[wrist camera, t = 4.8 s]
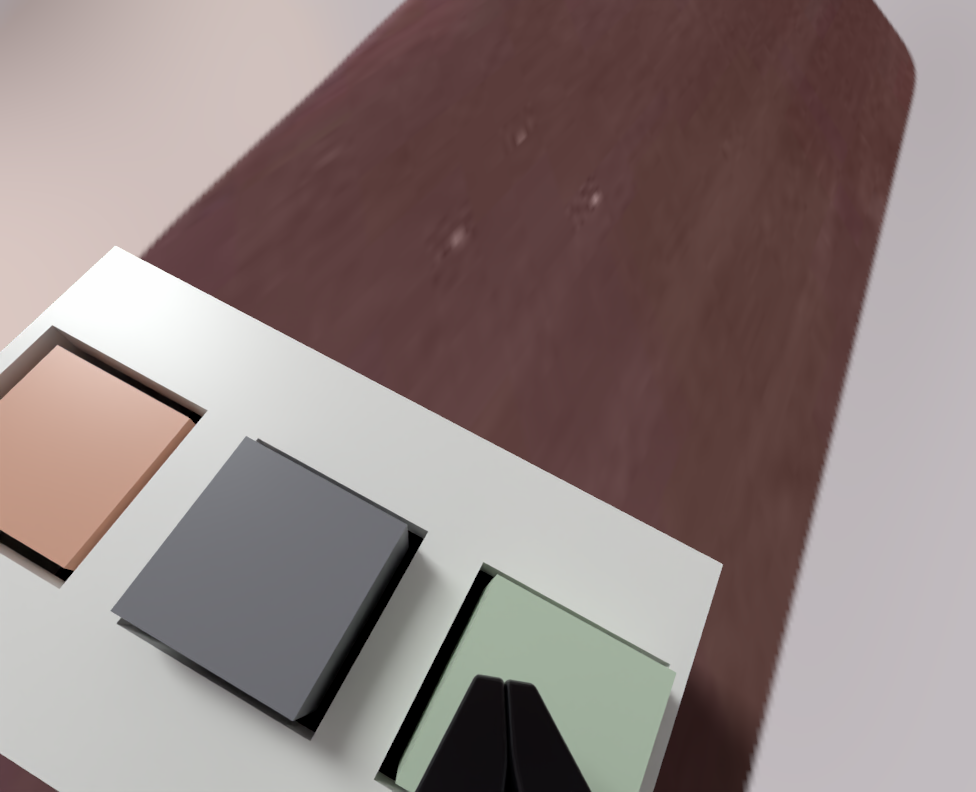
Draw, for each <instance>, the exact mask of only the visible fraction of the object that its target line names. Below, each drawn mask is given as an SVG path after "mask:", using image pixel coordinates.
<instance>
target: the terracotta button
mask: <svg viewBox="0 0 976 792" xmlns="http://www.w3.org/2000/svg"><path fill="white" fill-rule="evenodd" d="M195 425H196V424H195V423H194V422H193V421H192V420H191V419H190V418H188V417H187V416H185V415H183V414H181V413H179V412H178V411H176V410H174V409H172V408H170V407H169V406H167V405H165V404H163V403H161V402H160V401H158V400H156V399H154V398H152V397H150V396H149V395H147V394H145V393H143V392H141V391H140V390H138V389H136V388H134V387H132V386H131V385H129V384H127V383H125V382H123V381H122V380H120V379H118V378H116V377H114V376H113V375H111V374H109V373H107V372H105V371H103V370H102V369H100V368H98V367H96V366H94V365H93V364H91V363H89V362H87V361H85V360H84V359H82V358H80V357H78V356H76V355H75V354H73V353H71V352H69V351H67V350H65V349H64V348H62V347H60V346H58V345H57V346H56V347H55V348H54V349H53V350H52V351H51V352H49V353H48V354H47V355H46V356H45V357H44V358H43V359H42V360H41V361H40V362H39V363H38V364H37V365H36V366H35V367H34V368H33V369H32V370H31V371H30V372H29V373H28V374H27V375H26V376H25V377H24V378H23V379H22V380H21V381H20V382H19V383H17V384H16V385H15V386H14V387H13V388H12V389H11V390H10V391H9V392H8V393H7V394H6V395H5V396H4V397H3V398H2V399H1V400H0V530H1V531H3V532H5V533H6V534H8V535H10V536H11V537H13V538H15V539H16V540H18V541H20V542H21V543H23V544H25V545H26V546H28V547H30V548H31V549H33V550H35V551H36V552H38V553H40V554H41V555H43V556H45V557H46V558H48V559H50V560H51V561H53V562H55V563H56V564H58V565H60V566H61V567H63V568H65V569H69V570H73V571H75V570H76V569H77V567H78V566H79V565H80V564H81V563H82V561H83V560H84V559H85V558H86V556H87V555H88V554H89V553H90V552H91V550H92V549H93V548H94V547H95V546H96V544H97V543H98V542H99V541H100V540H101V538H102V537H103V536H104V535H105V534H106V532H107V531H108V530H109V529H110V528H111V526H112V525H113V524H114V523H115V522H116V520H117V519H118V518H119V517H120V516H121V514H122V513H123V512H124V511H125V510H126V508H127V507H128V506H129V505H130V503H131V502H132V501H133V500H134V499H135V497H136V496H137V495H138V494H139V493H140V491H141V490H142V489H143V488H144V487H145V485H146V484H147V483H148V482H149V481H150V479H151V478H152V477H153V476H154V475H155V473H156V472H157V471H158V470H159V469H160V467H161V466H162V465H163V464H164V463H165V461H166V460H167V459H168V458H169V457H170V455H171V454H172V453H173V452H174V450H175V449H176V448H177V447H178V446H179V444H180V443H181V442H182V441H183V440H184V438H185V437H186V436H187V435H188V434H189V432H190V431H191V430H192V429H193V428H194V426H195Z"/></svg>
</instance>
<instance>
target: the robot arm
mask: <svg viewBox="0 0 976 792" xmlns="http://www.w3.org/2000/svg"><path fill="white" fill-rule="evenodd" d="M415 792H591V790H590V788H589V786H588V784H587V782H586V780H585V778H584V777H583V775H582V773H581V771H580V769H579V767H578V765H577V763H576V761H575V759H574V758H573V756H572V754H571V752H570V750H569V748H568V746H567V744H566V742H565V741H564V739H563V737H562V735H561V733H560V731H559V729H558V727H557V725H556V724H555V722H554V720H553V718H552V716H551V714H550V712H549V710H548V708H547V707H546V705H545V703H544V701H543V699H542V697H541V695H540V693H539V691H538V690H537V688H536V686H535V685H534V684H532V683H529V682H523V681H517V680H511V679H509V680H507V681H505V683H504V681H503V679H502V678H499V677H493V676H488V675H482V674H477V675H476V676H475V677H474V678H473V680H472V682H471V684H470V686H469V688H468V689H467V691H466V693H465V695H464V697H463V699H462V701H461V703H460V705H459V707H458V709H457V711H456V713H455V715H454V717H453V719H452V721H451V723H450V724H449V726H448V728H447V730H446V732H445V734H444V736H443V738H442V740H441V742H440V744H439V746H438V748H437V750H436V752H435V754H434V756H433V758H432V759H431V761H430V763H429V765H428V767H427V769H426V771H425V773H424V775H423V777H422V779H421V781H420V783H419V785H418V787H417V789H416V791H415Z"/></svg>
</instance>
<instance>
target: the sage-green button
mask: <svg viewBox="0 0 976 792" xmlns="http://www.w3.org/2000/svg"><path fill="white" fill-rule="evenodd" d="M477 674H482V675H488V676H493V677H499V678H502V679H503V681H504V683H505V681H507V680H509V679H511V680H517V681H523V682H529V683H532V684H534V685H535V686H536V688H537V690H538V691H539V693H540V695H541V697H542V699H543V701H544V703H545V705H546V707H547V708H548V710H549V712H550V714H551V716H552V718H553V720H554V722H555V724H556V725H557V727H558V729H559V731H560V733H561V735H562V737H563V739H564V741H565V742H566V744H567V746H568V748H569V750H570V752H571V754H572V756H573V758H574V759H575V761H576V763H577V765H578V767H579V769H580V771H581V773H582V775H583V777H584V778H585V780H586V782H587V784H588V786H589V788H590V790H591V792H639V789H640V786H641V783H642V780H643V777H644V774H645V771H646V767H647V764H648V761H649V758H650V755H651V752H652V748H653V745H654V742H655V739H656V736H657V733H658V730H659V726H660V723H661V720H662V717H663V714H664V711H665V708H666V704H667V701H668V698H669V695H670V692H671V689H672V685H673V682H674V679H675V676H676V672H674V671H673V670H671V669H669V668H667V667H665V666H663V665H662V664H660V663H658V662H656V661H654V660H653V659H651V658H649V657H647V656H645V655H643V654H642V653H640V652H638V651H636V650H634V649H633V648H631V647H629V646H627V645H625V644H623V643H622V642H620V641H618V640H616V639H614V638H613V637H611V636H609V635H607V634H605V633H603V632H602V631H600V630H598V629H596V628H594V627H593V626H591V625H589V624H587V623H585V622H583V621H582V620H580V619H578V618H576V617H574V616H573V615H571V614H569V613H567V612H565V611H563V610H562V609H560V608H558V607H556V606H554V605H553V604H551V603H549V602H547V601H545V600H543V599H542V598H540V597H538V596H536V595H534V594H533V593H531V592H529V591H527V590H525V589H523V588H522V587H520V586H518V585H516V584H514V583H513V582H511V581H509V580H507V579H505V578H503V577H502V576H500V575H498V574H497V575H496V576H495V577H494V578H493V579H492V580H491V581H490V583H489V584H488V585H487V586H486V587H485V588H484V589H483V591H482V593H481V595H480V597H479V599H478V601H477V603H476V605H475V607H474V609H473V612H472V614H471V616H470V618H469V620H468V622H467V624H466V626H465V628H464V630H463V632H462V634H461V636H460V638H459V640H458V642H457V644H456V646H455V648H454V650H453V652H452V654H451V656H450V658H449V660H448V662H447V664H446V666H445V668H444V670H443V672H442V674H441V677H440V679H439V681H438V683H437V685H436V687H435V689H434V691H433V693H432V695H431V697H430V699H429V701H428V703H427V705H426V707H425V709H424V711H423V713H422V715H421V717H420V719H419V721H418V723H417V725H416V727H415V729H414V731H413V733H412V735H411V737H410V739H409V742H408V744H407V746H406V748H405V750H404V752H403V754H402V756H401V758H400V760H399V765H398V771H397V776H396V782H395V783H396V784H397V785H399V786H401V787H402V788H404V789H406V790H407V791H409V792H415V791H416V789H417V787H418V785H419V783H420V781H421V779H422V777H423V775H424V773H425V771H426V769H427V767H428V765H429V763H430V761H431V759H432V758H433V756H434V754H435V752H436V750H437V748H438V746H439V744H440V742H441V740H442V738H443V736H444V734H445V732H446V730H447V728H448V726H449V724H450V723H451V721H452V719H453V717H454V715H455V713H456V711H457V709H458V707H459V705H460V703H461V701H462V699H463V697H464V695H465V693H466V691H467V689H468V688H469V686H470V684H471V682H472V680H473V678H474V677H475V676H476V675H477Z"/></svg>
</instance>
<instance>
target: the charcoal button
mask: <svg viewBox="0 0 976 792" xmlns="http://www.w3.org/2000/svg"><path fill="white" fill-rule="evenodd" d="M408 549H409V541H408V525H407V524H405V523H404V522H402V521H400V520H398V519H396V518H394V517H393V516H391V515H389V514H387V513H385V512H384V511H382V510H380V509H378V508H376V507H374V506H373V505H371V504H369V503H367V502H365V501H364V500H362V499H360V498H358V497H356V496H354V495H353V494H351V493H349V492H347V491H345V490H344V489H342V488H340V487H338V486H336V485H334V484H333V483H331V482H329V481H327V480H325V479H324V478H322V477H320V476H318V475H316V474H314V473H313V472H311V471H309V470H307V469H305V468H304V467H302V466H300V465H298V464H296V463H294V462H293V461H291V460H289V459H287V458H285V457H284V456H282V455H280V454H278V453H276V452H274V451H273V450H271V449H269V448H267V447H265V446H264V445H262V444H260V443H258V442H256V441H254V440H253V439H251V438H249V437H247V436H246V437H245V438H244V439H243V441H242V442H241V443H240V444H239V446H238V447H237V448H236V450H235V451H234V452H233V453H232V455H231V456H230V457H229V459H228V460H227V461H226V462H225V464H224V465H223V466H222V468H221V469H220V470H219V471H218V473H217V474H216V475H215V477H214V478H213V479H212V480H211V482H210V483H209V484H208V486H207V487H206V488H205V489H204V491H203V492H202V493H201V495H200V496H199V497H198V499H197V500H196V501H195V502H194V504H193V505H192V506H191V508H190V509H189V510H188V511H187V513H186V514H185V515H184V517H183V518H182V519H181V520H180V522H179V523H178V524H177V526H176V527H175V528H174V529H173V531H172V532H171V533H170V535H169V536H168V537H167V538H166V540H165V541H164V542H163V544H162V545H161V546H160V547H159V549H158V550H157V551H156V553H155V554H154V555H153V556H152V558H151V559H150V560H149V562H148V563H147V564H146V566H145V567H144V568H143V569H142V571H141V572H140V573H139V575H138V576H137V577H136V578H135V580H134V581H133V582H132V584H131V585H130V586H129V587H128V589H127V590H126V591H125V593H124V594H123V595H122V596H121V598H120V599H119V600H118V602H117V603H116V604H115V605H114V607H113V608H112V609H111V612H113V613H115V614H116V615H118V616H119V617H121V618H123V619H124V620H126V621H128V622H129V623H131V624H133V625H134V626H136V627H138V628H139V629H141V630H143V631H144V632H146V633H148V634H149V635H151V636H153V637H154V638H156V639H158V640H159V641H161V642H163V643H164V644H166V645H167V646H169V647H171V648H172V649H174V650H176V651H177V652H179V653H181V654H182V655H184V656H186V657H187V658H189V659H191V660H192V661H194V662H196V663H197V664H199V665H201V666H202V667H204V668H206V669H207V670H209V671H210V672H212V673H214V674H215V675H217V676H219V677H220V678H222V679H224V680H225V681H227V682H229V683H230V684H232V685H234V686H235V687H237V688H239V689H240V690H242V691H244V692H245V693H247V694H249V695H250V696H252V697H253V698H255V699H257V700H258V701H260V702H262V703H263V704H265V705H267V706H268V707H270V708H272V709H273V710H275V711H277V712H278V713H280V714H282V715H283V716H285V717H287V718H288V719H290V720H292V721H295V720H297V719H299V718H301V717H303V716H305V715H308V714H310V713H312V712H314V711H316V710H317V708H318V707H319V705H320V703H321V701H322V700H323V698H324V696H325V694H326V693H327V691H328V689H329V687H330V685H331V684H332V682H333V680H334V678H335V677H336V675H337V673H338V671H339V670H340V668H341V666H342V664H343V663H344V661H345V659H346V657H347V656H348V654H349V652H350V650H351V649H352V647H353V645H354V643H355V642H356V640H357V638H358V636H359V635H360V633H361V631H362V629H363V628H364V626H365V624H366V622H367V621H368V619H369V617H370V615H371V614H372V612H373V610H374V608H375V607H376V605H377V603H378V601H379V600H380V598H381V596H382V594H383V593H384V591H385V589H386V587H387V586H388V584H389V582H390V580H391V579H392V577H393V575H394V573H395V572H396V570H397V568H398V566H399V565H400V563H401V561H402V559H403V558H404V556H405V554H406V552H407V550H408Z"/></svg>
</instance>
